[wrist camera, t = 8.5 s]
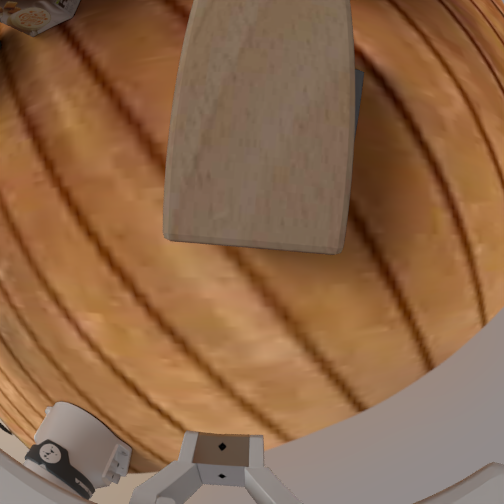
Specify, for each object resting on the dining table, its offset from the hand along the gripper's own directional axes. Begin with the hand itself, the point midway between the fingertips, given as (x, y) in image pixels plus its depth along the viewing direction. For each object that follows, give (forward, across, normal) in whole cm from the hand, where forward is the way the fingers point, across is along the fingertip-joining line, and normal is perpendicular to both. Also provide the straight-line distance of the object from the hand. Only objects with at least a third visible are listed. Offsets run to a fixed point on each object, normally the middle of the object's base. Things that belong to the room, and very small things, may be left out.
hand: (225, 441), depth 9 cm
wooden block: (+12, -1, -6) cm, 13 cm away
